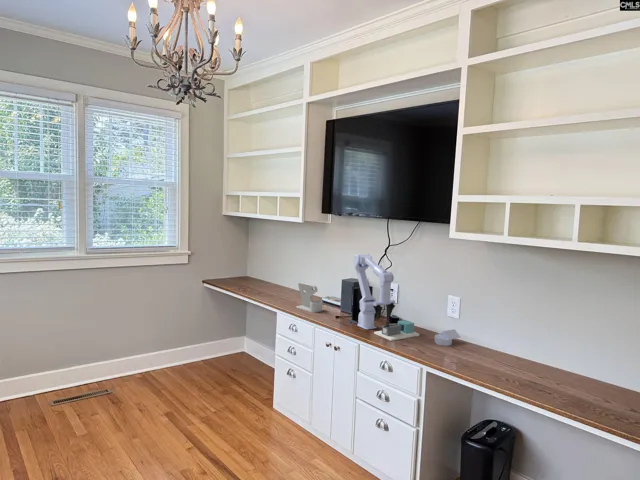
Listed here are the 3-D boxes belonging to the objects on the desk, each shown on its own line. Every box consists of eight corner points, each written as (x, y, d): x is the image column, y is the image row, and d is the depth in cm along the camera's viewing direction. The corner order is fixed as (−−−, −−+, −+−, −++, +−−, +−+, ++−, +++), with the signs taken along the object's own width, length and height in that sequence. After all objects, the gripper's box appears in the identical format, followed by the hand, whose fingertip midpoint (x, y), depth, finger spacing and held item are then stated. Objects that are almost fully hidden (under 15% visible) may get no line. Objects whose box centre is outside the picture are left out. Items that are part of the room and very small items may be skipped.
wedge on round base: (447, 338, 251) (431, 341, 244) (448, 327, 250) (431, 329, 244) (460, 343, 243) (443, 346, 237) (461, 331, 243) (444, 334, 236)
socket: (397, 330, 258) (397, 321, 257) (404, 329, 261) (405, 319, 261) (405, 333, 252) (406, 324, 252) (413, 332, 256) (414, 323, 255)
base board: (374, 333, 253) (374, 331, 253) (401, 328, 265) (402, 327, 265) (391, 340, 241) (391, 338, 241) (419, 335, 254) (419, 333, 254)
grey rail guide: (381, 333, 250) (382, 325, 249) (394, 331, 255) (395, 323, 255) (387, 336, 246) (388, 327, 245) (400, 333, 251) (401, 325, 251)
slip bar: (382, 332, 249) (383, 321, 248) (395, 330, 254) (396, 319, 254) (386, 334, 246) (387, 322, 246) (399, 331, 252) (400, 320, 251)
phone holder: (324, 310, 297) (325, 284, 296) (313, 313, 290) (315, 285, 288) (305, 305, 309) (307, 279, 308) (295, 307, 302) (296, 281, 300)
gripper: (380, 296, 242) (378, 320, 243) (399, 294, 250) (397, 317, 251) (371, 293, 248) (370, 317, 249) (390, 291, 256) (389, 314, 257)
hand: (383, 317), depth 251 cm, fingers open, 7 cm apart
